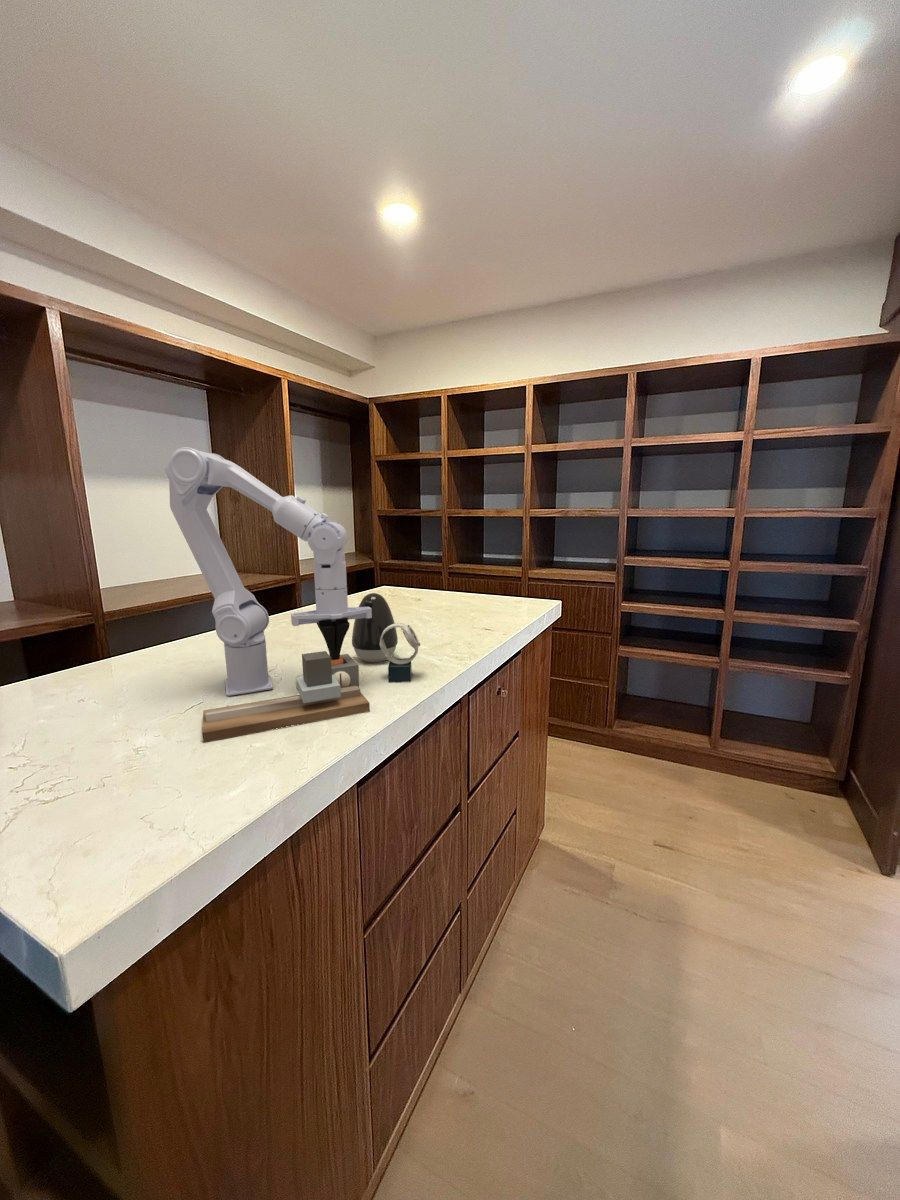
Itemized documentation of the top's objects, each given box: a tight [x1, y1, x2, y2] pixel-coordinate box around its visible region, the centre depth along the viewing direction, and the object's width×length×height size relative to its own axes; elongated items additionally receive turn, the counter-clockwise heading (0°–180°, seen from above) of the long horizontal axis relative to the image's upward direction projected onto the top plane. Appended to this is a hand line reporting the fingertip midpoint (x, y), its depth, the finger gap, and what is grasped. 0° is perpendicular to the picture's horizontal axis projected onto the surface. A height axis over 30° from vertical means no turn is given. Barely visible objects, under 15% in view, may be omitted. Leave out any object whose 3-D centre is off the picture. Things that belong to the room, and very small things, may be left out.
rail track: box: [201, 686, 371, 744], centre depth 79 cm, size 9×25×3 cm, turn 116°
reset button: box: [331, 656, 343, 665], centre depth 91 cm, size 3×3×2 cm
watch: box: [380, 622, 421, 683], centre depth 96 cm, size 6×8×11 cm
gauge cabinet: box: [331, 653, 360, 688], centre depth 91 cm, size 8×7×5 cm
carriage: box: [295, 650, 341, 703], centre depth 80 cm, size 7×6×6 cm
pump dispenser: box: [351, 592, 399, 663], centre depth 108 cm, size 10×10×15 cm
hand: (334, 658), depth 91 cm, fingers closed, pressing on reset button
